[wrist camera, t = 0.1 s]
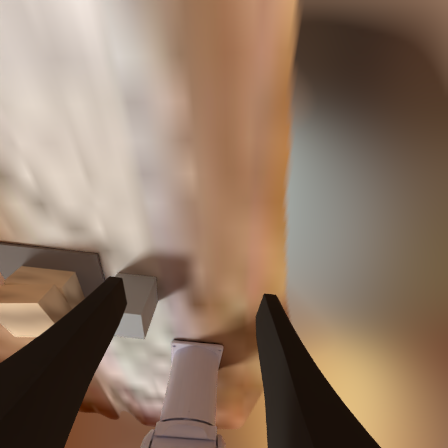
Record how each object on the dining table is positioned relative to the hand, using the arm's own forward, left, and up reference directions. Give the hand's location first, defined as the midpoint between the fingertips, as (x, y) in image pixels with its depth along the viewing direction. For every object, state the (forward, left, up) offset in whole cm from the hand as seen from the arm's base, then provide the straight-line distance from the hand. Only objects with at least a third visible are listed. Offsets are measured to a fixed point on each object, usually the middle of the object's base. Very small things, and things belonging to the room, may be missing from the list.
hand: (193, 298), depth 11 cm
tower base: (-13, +18, -10) cm, 24 cm away
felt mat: (-13, +18, -10) cm, 24 cm away
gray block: (-12, +8, -10) cm, 18 cm away
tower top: (-13, +18, -7) cm, 23 cm away
